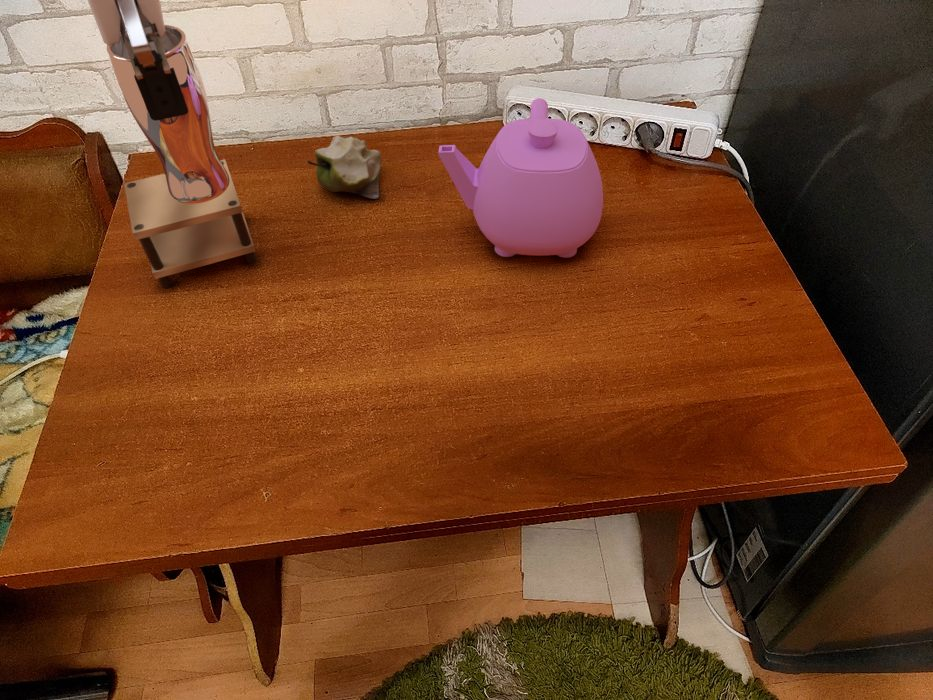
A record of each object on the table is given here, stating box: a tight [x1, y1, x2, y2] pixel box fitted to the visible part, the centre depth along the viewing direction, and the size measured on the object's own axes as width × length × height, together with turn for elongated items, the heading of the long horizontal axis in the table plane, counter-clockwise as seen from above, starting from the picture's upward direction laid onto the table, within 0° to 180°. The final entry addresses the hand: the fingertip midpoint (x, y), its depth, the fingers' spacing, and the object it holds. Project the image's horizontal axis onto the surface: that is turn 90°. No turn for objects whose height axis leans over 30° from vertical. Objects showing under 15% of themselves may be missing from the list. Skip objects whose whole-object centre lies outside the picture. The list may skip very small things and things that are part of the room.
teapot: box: [437, 97, 604, 259], centre depth 84 cm, size 20×20×15 cm
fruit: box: [307, 135, 382, 200], centre depth 93 cm, size 9×9×8 cm
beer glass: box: [106, 24, 230, 204], centre depth 65 cm, size 7×7×15 cm
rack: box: [123, 158, 258, 289], centre depth 83 cm, size 12×10×9 cm
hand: (164, 93), depth 63 cm, fingers closed on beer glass, 7 cm apart
